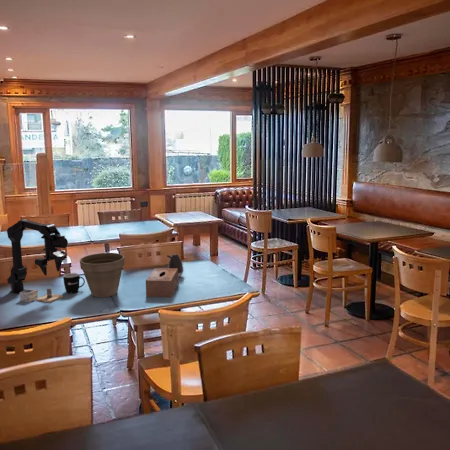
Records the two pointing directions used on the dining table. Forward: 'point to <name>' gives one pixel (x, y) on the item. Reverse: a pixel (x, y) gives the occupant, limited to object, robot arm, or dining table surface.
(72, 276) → the mug
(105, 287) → the plant pot
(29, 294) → the collar
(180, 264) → the pump dispenser
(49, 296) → the shaft block
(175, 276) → the tissue box cover
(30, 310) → the dining table surface
